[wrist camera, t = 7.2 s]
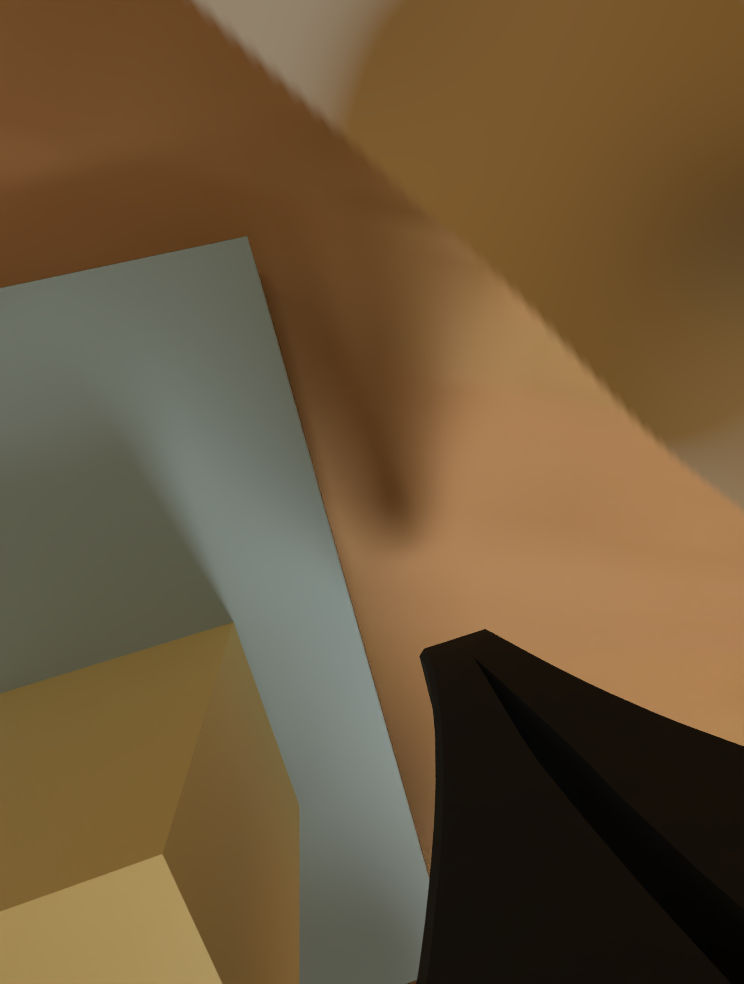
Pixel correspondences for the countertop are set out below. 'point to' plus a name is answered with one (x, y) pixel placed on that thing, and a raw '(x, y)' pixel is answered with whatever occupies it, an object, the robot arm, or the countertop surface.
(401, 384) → the countertop surface
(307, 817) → the trap tray
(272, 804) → the ochre block
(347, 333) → the countertop surface
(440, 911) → the robot arm
